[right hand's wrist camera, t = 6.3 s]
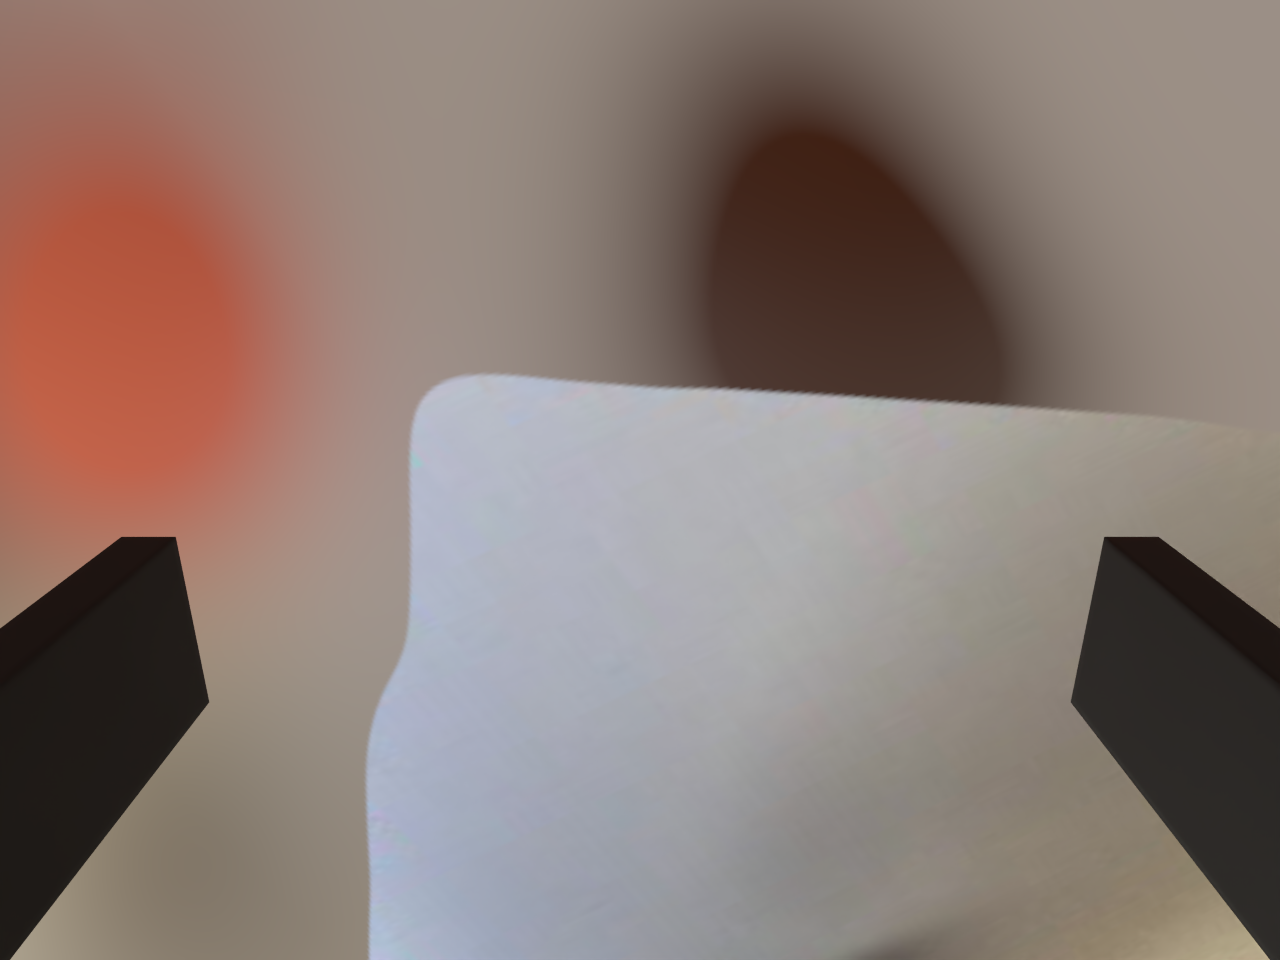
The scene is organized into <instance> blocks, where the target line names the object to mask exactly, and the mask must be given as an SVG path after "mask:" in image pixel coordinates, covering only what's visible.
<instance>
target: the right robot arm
mask: <svg viewBox="0 0 1280 960" xmlns="http://www.w3.org/2000/svg"><path fill="white" fill-rule="evenodd" d="M208 703H209V699H208V694H207V689H206V684H205V679H204V674H203V669H202V664H201V660H200V655H199V650H198V645H197V640H196V635H195V630H194V625H193V620H192V615H191V610H190V605H189V600H188V596H187V591H186V586H185V581H184V576H183V571H182V566H181V561H180V556H179V551H178V546H177V541H176V537H121V538H119V539H118V540H117V541H115V542H114V543H113V544H112V545H110V546H109V547H108V548H106V549H105V550H104V551H102V552H101V553H100V554H98V555H97V556H96V557H94V558H93V559H92V560H90V561H89V562H88V563H86V564H85V565H84V566H82V567H81V568H80V569H78V570H77V571H76V572H74V573H73V574H72V575H71V576H69V577H68V578H67V579H65V580H64V581H63V582H61V583H60V584H59V585H57V586H56V587H55V588H53V589H52V590H51V591H49V592H48V593H47V594H45V595H44V596H43V597H41V598H40V599H39V600H37V601H36V602H35V603H33V604H32V605H31V606H29V607H28V608H27V609H26V610H24V611H23V612H21V613H20V614H19V615H17V616H16V617H15V618H13V619H12V620H11V621H10V622H8V623H7V624H6V625H4V626H3V627H2V628H0V960H10V959H11V958H12V956H13V955H14V954H15V952H16V951H17V950H18V949H19V947H20V946H21V945H22V943H23V942H24V941H25V940H26V938H27V937H28V936H29V934H30V933H31V932H32V931H33V929H34V928H35V927H36V925H37V924H38V923H39V921H40V920H41V919H42V918H43V916H44V915H45V914H46V912H47V911H48V910H49V909H50V907H51V906H52V905H53V903H54V902H55V901H56V899H57V898H58V897H59V896H60V894H61V893H62V892H63V890H64V889H65V888H66V887H67V885H68V884H69V883H70V881H71V880H72V879H73V878H74V876H75V875H76V874H77V872H78V871H79V870H80V868H81V867H82V866H83V865H84V863H85V862H86V861H87V859H88V858H89V857H90V856H91V854H92V853H93V852H94V850H95V849H96V848H97V846H98V845H99V844H100V843H101V841H102V840H103V839H104V837H105V836H106V835H107V834H108V832H109V831H110V830H111V828H112V827H113V826H114V825H115V823H116V822H117V821H118V819H119V818H120V817H121V815H122V814H123V813H124V812H125V810H126V809H127V808H128V806H129V805H130V804H131V802H132V801H133V800H134V799H135V797H136V796H137V795H138V794H139V792H140V791H141V790H142V788H143V787H144V786H145V784H146V783H147V782H148V781H149V779H150V778H151V777H152V775H153V774H154V773H155V772H156V770H157V769H158V768H159V766H160V765H161V764H162V763H163V761H164V760H165V759H166V757H167V756H168V755H169V753H170V752H171V751H172V750H173V748H174V747H175V746H176V744H177V743H178V742H179V741H180V739H181V738H182V737H183V735H184V734H185V733H186V731H187V730H188V729H189V728H190V726H191V725H192V724H193V722H194V721H195V720H196V718H197V717H198V716H199V715H200V713H201V712H202V711H203V710H204V708H205V707H206V706H207V704H208ZM1071 703H1072V704H1073V706H1074V707H1075V708H1076V710H1077V711H1078V712H1079V713H1080V715H1081V716H1082V717H1083V719H1084V720H1085V721H1086V722H1087V724H1088V725H1089V726H1090V728H1091V729H1092V730H1093V731H1094V733H1095V734H1096V735H1097V737H1098V738H1099V739H1100V741H1101V742H1102V743H1103V744H1104V746H1105V747H1106V748H1107V750H1108V751H1109V752H1110V753H1111V755H1112V756H1113V757H1114V759H1115V760H1116V761H1117V763H1118V764H1119V765H1120V766H1121V768H1122V769H1123V770H1124V772H1125V773H1126V774H1127V775H1128V777H1129V778H1130V779H1131V781H1132V782H1133V783H1134V784H1135V786H1136V787H1137V788H1138V790H1139V791H1140V792H1141V794H1142V795H1143V796H1144V797H1145V799H1146V800H1147V801H1148V803H1149V804H1150V805H1151V806H1152V808H1153V809H1154V810H1155V812H1156V813H1157V814H1158V815H1159V817H1160V818H1161V819H1162V821H1163V822H1164V823H1165V825H1166V826H1167V827H1168V828H1169V830H1170V831H1171V832H1172V834H1173V835H1174V836H1175V837H1176V839H1177V840H1178V841H1179V843H1180V844H1181V845H1182V847H1183V848H1184V849H1185V850H1186V852H1187V853H1188V854H1189V856H1190V857H1191V858H1192V859H1193V861H1194V862H1195V863H1196V865H1197V866H1198V867H1199V868H1200V870H1201V871H1202V872H1203V874H1204V875H1205V876H1206V878H1207V879H1208V880H1209V881H1210V883H1211V884H1212V885H1213V887H1214V888H1215V889H1216V890H1217V892H1218V893H1219V894H1220V896H1221V897H1222V898H1223V900H1224V901H1225V902H1226V903H1227V905H1228V906H1229V907H1230V909H1231V910H1232V911H1233V912H1234V914H1235V915H1236V916H1237V918H1238V919H1239V920H1240V921H1241V923H1242V924H1243V925H1244V927H1245V928H1246V929H1247V931H1248V932H1249V933H1250V934H1251V936H1252V937H1253V938H1254V940H1255V941H1256V942H1257V943H1258V945H1259V946H1260V947H1261V949H1262V950H1263V951H1264V952H1265V954H1266V955H1267V956H1268V958H1269V959H1270V960H1280V628H1278V627H1277V626H1276V625H1274V624H1273V623H1272V622H1270V621H1269V620H1268V619H1267V618H1265V617H1264V616H1263V615H1261V614H1260V613H1259V612H1257V611H1256V610H1255V609H1253V608H1252V607H1251V606H1249V605H1248V604H1247V603H1245V602H1244V601H1243V600H1241V599H1240V598H1239V597H1237V596H1236V595H1235V594H1233V593H1232V592H1231V591H1229V590H1228V589H1227V588H1225V587H1224V586H1223V585H1221V584H1220V583H1219V582H1218V581H1216V580H1215V579H1214V578H1212V577H1211V576H1210V575H1208V574H1207V573H1206V572H1204V571H1203V570H1202V569H1200V568H1199V567H1198V566H1196V565H1195V564H1194V563H1192V562H1191V561H1190V560H1188V559H1187V558H1186V557H1184V556H1183V555H1182V554H1180V553H1179V552H1178V551H1176V550H1175V549H1174V548H1172V547H1171V546H1170V545H1169V544H1167V543H1166V542H1165V541H1163V540H1162V539H1161V538H1159V537H1104V541H1103V546H1102V551H1101V556H1100V561H1099V566H1098V571H1097V576H1096V581H1095V586H1094V591H1093V595H1092V600H1091V605H1090V610H1089V615H1088V620H1087V625H1086V630H1085V635H1084V640H1083V645H1082V650H1081V655H1080V659H1079V664H1078V669H1077V674H1076V679H1075V684H1074V689H1073V694H1072V699H1071Z"/></svg>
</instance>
